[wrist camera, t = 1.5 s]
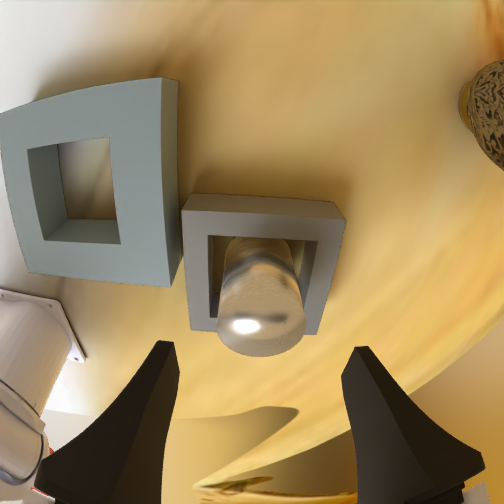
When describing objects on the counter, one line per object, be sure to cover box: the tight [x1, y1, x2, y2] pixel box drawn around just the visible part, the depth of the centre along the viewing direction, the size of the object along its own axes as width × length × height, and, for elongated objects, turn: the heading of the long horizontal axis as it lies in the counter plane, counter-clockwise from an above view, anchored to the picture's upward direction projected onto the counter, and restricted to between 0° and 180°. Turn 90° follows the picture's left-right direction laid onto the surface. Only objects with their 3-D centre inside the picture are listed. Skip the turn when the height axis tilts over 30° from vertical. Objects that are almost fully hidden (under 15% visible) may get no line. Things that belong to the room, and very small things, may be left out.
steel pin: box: [217, 236, 306, 357], centre depth 15 cm, size 4×4×6 cm
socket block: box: [0, 77, 182, 287], centre depth 13 cm, size 10×10×3 cm
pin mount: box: [182, 193, 346, 335], centre depth 16 cm, size 8×8×2 cm
